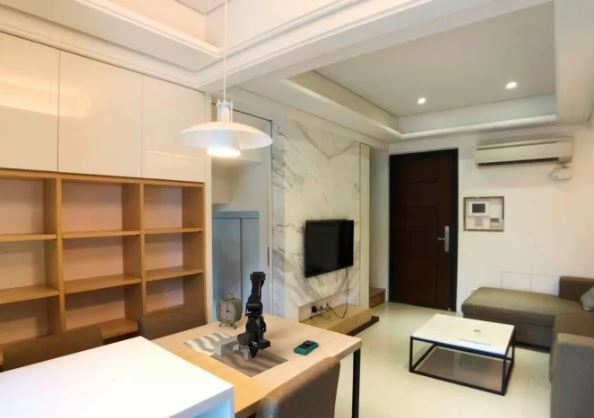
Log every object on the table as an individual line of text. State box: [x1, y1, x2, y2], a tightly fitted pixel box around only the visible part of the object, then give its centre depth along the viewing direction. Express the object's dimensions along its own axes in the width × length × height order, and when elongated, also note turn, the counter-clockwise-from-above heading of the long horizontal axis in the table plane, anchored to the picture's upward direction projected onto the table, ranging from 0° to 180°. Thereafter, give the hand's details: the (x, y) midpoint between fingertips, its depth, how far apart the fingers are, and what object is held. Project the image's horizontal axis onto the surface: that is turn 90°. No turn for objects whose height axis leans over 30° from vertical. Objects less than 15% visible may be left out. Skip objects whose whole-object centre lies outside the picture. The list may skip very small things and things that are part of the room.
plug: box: [232, 343, 253, 360], centre depth 177 cm, size 4×19×4 cm, turn 48°
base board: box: [182, 331, 290, 378], centre depth 180 cm, size 24×57×1 cm, turn 48°
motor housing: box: [214, 334, 249, 359], centre depth 180 cm, size 20×6×6 cm, turn 138°
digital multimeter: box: [293, 339, 319, 356], centre depth 186 cm, size 7×15×3 cm, turn 150°
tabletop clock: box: [215, 286, 243, 330], centre depth 220 cm, size 14×9×25 cm, turn 68°
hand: (253, 358), depth 169 cm, fingers closed
